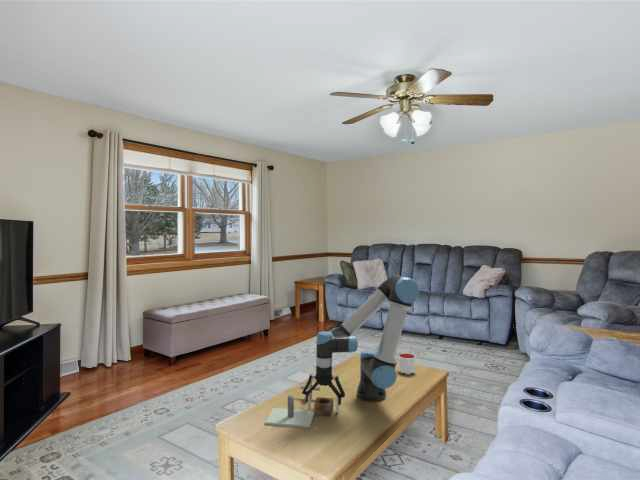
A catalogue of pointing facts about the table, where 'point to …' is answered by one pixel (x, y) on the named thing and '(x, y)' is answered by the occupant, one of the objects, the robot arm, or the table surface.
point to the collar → (323, 406)
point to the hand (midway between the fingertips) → (323, 410)
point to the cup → (406, 363)
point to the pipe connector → (310, 387)
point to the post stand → (290, 416)
